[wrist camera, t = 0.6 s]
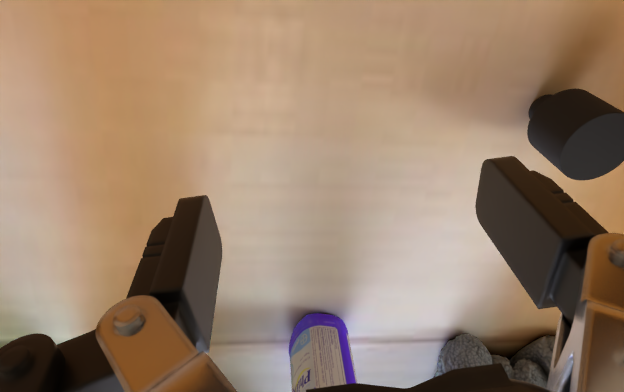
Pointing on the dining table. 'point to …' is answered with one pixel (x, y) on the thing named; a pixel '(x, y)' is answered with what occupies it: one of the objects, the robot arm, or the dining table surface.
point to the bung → (577, 133)
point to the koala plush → (500, 358)
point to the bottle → (320, 353)
